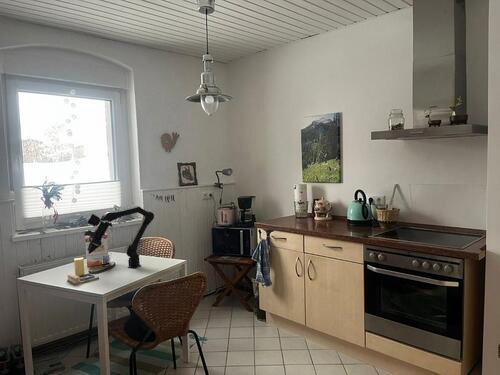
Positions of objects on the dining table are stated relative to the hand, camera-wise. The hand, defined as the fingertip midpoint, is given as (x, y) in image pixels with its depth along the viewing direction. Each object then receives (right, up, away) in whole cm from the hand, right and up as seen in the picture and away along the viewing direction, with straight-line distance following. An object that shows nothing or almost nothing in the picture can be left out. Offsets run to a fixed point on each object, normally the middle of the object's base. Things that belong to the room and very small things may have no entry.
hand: (88, 252), depth 235 cm
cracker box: (-3, -13, +23) cm, 27 cm away
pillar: (-4, -14, -3) cm, 15 cm away
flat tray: (+3, -15, -11) cm, 19 cm away
